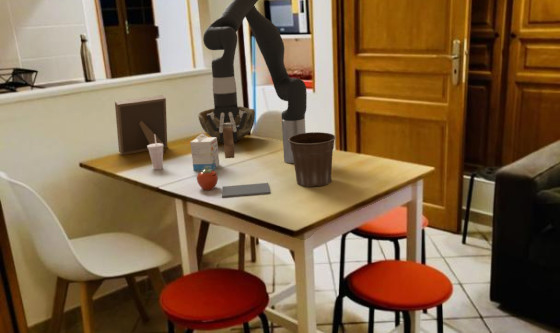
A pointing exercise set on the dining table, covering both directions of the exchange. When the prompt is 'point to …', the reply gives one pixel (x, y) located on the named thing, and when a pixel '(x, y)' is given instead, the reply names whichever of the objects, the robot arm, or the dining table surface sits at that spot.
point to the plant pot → (312, 158)
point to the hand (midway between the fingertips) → (228, 142)
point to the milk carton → (204, 152)
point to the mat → (245, 190)
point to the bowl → (240, 133)
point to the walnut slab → (228, 140)
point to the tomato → (207, 179)
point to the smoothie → (156, 154)
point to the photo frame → (141, 123)
